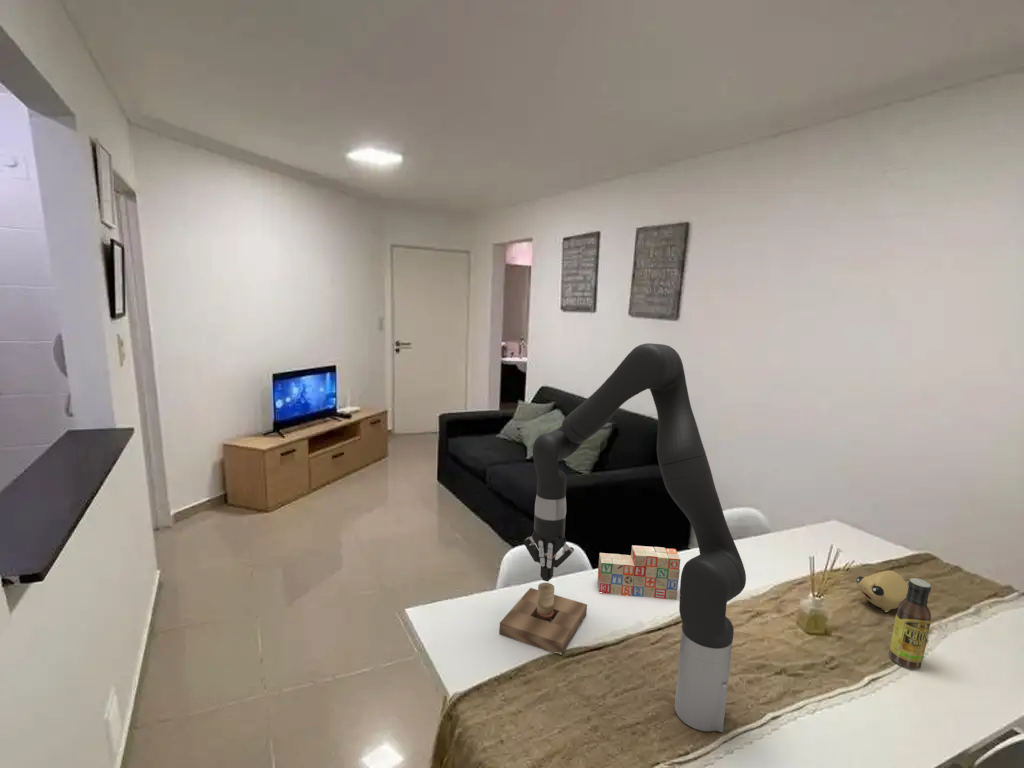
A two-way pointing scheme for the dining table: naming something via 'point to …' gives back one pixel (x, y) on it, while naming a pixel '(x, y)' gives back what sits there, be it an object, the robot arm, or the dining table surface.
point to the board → (543, 622)
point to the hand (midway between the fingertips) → (546, 579)
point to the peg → (545, 601)
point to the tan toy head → (883, 589)
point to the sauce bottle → (911, 626)
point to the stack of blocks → (640, 573)
